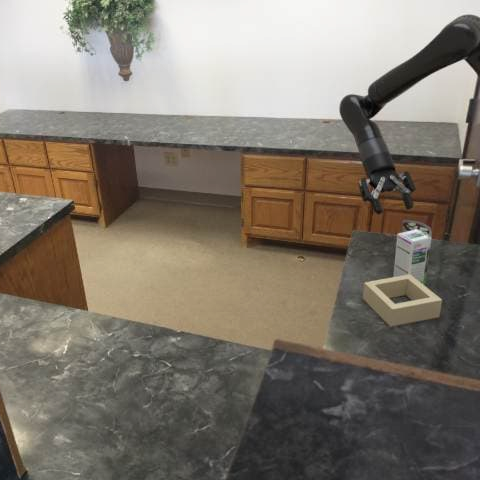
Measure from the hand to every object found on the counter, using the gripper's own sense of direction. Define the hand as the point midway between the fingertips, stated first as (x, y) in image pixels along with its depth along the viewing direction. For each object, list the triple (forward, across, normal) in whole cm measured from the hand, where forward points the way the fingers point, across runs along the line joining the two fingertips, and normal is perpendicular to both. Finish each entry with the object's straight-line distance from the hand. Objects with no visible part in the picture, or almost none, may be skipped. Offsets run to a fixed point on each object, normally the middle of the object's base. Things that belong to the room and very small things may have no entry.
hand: (395, 210), depth 136 cm
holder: (+25, -8, -1) cm, 27 cm away
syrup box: (+19, 0, +6) cm, 20 cm away
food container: (+12, +9, +13) cm, 20 cm away
